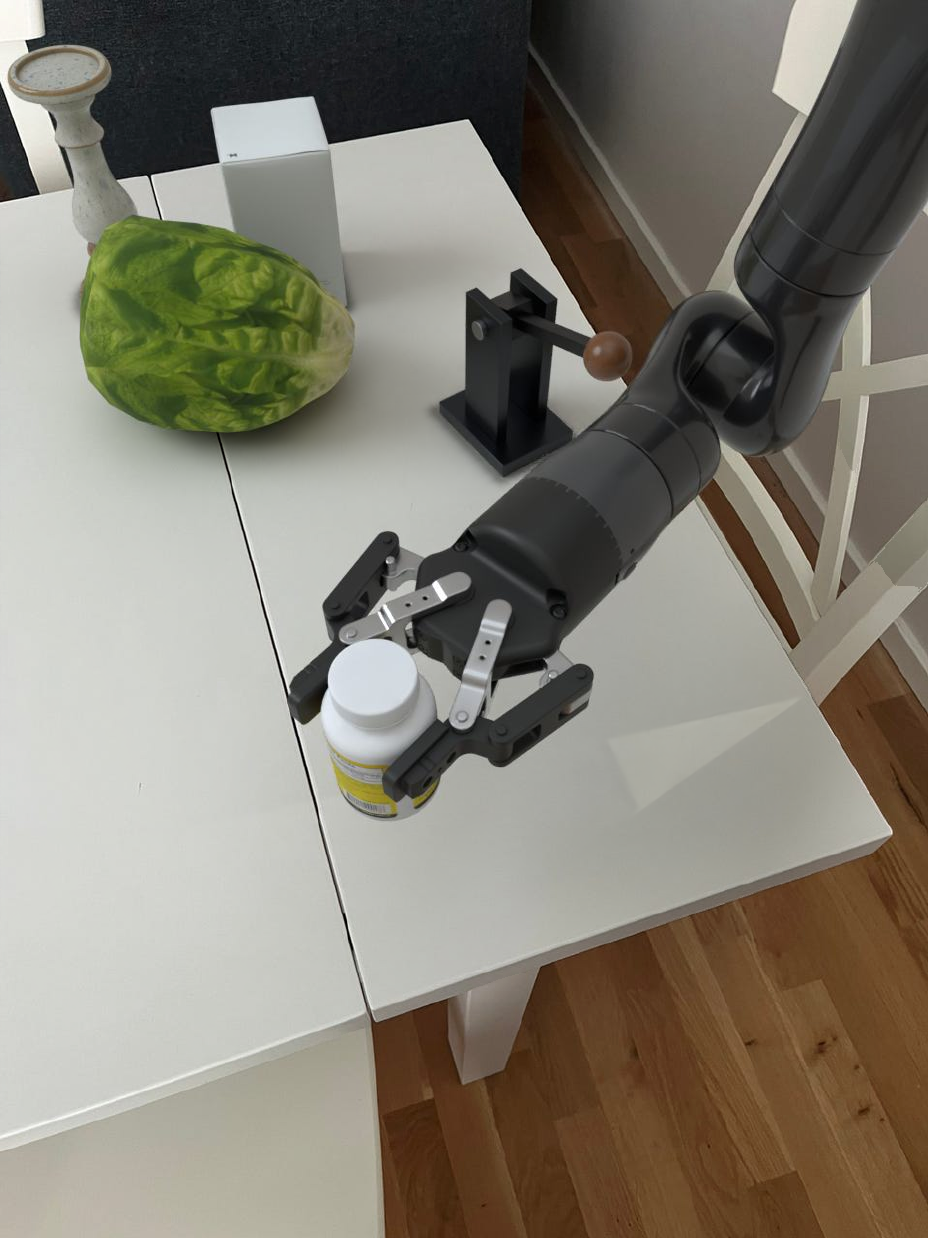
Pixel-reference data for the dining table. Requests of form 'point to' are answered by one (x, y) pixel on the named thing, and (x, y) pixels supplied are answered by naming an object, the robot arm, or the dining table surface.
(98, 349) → the lettuce
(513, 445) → the bracket
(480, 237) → the dining table surface
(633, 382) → the robot arm
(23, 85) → the candle holder
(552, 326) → the lever
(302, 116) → the rectangular carton
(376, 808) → the supplement bottle
